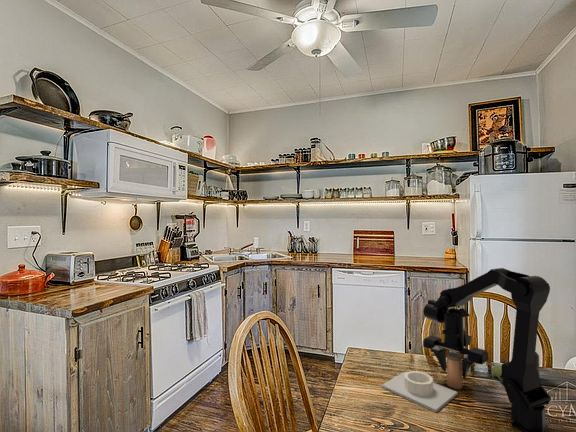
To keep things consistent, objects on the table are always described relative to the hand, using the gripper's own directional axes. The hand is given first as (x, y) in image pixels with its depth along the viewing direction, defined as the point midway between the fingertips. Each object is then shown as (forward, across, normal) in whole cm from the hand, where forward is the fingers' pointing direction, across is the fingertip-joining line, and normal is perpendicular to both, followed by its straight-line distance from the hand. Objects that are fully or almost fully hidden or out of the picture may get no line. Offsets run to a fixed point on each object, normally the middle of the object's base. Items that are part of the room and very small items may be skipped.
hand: (454, 374), depth 106 cm
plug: (+4, 0, 0) cm, 4 cm away
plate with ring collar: (+4, +6, +12) cm, 14 cm away
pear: (+4, -9, -16) cm, 19 cm away
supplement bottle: (+4, -14, -23) cm, 27 cm away
